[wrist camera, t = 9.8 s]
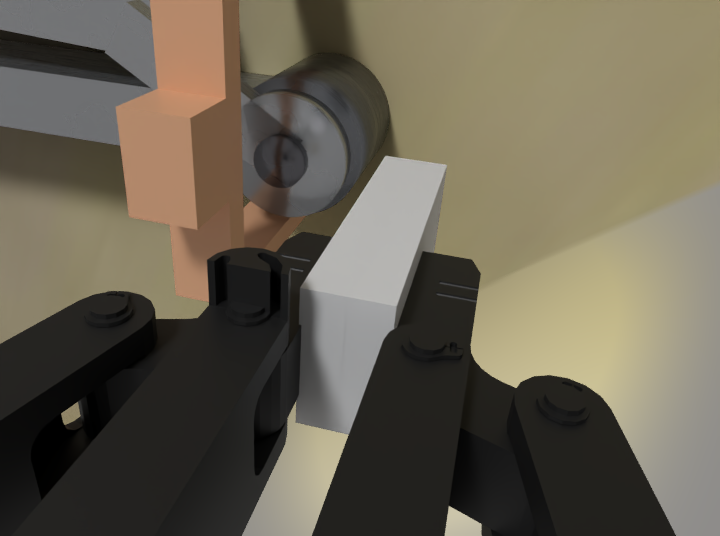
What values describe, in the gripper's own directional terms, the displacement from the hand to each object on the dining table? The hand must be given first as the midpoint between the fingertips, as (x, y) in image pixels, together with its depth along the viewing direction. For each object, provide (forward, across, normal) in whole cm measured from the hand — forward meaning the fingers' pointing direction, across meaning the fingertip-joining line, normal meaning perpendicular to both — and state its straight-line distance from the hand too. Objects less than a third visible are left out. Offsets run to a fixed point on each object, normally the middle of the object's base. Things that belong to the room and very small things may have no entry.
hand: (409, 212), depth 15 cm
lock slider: (+11, +6, 0) cm, 13 cm away
